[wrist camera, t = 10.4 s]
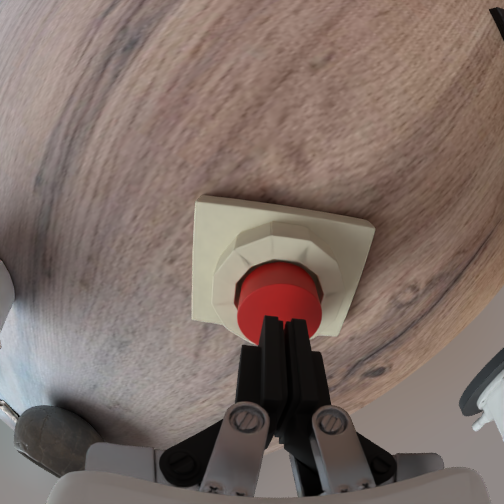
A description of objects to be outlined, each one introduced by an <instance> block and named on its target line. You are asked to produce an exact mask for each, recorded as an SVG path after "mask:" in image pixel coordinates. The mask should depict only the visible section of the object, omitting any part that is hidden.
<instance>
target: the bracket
mask: <svg viewBox="0 0 504 504" xmlns="http://www.w3.org/2000/svg"><path fill="white" fill-rule="evenodd" d="M489 11H490V13H491V15H492V16H493V18H494V20H495V23H496V25H497V27H498V29H499V31H500V33H501V36H502V38H503V40H504V9H501V8H498V7H496V8H492V9H489Z"/></svg>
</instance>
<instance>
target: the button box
mask: <svg viewBox="0 0 504 504" xmlns="http://www.w3.org/2000/svg"><path fill="white" fill-rule="evenodd" d="M374 233H375V227H374V226H373V225H372V224H371V223H370V222H369V221H368V220H365V219H360V218H354V217H349V216H344V215H338V214H332V213H327V212H321V211H315V210H309V209H303V208H296V207H290V206H283V205H277V204H270V203H263V202H256V201H248V200H240V199H233V198H224V197H216V196H207V195H201V196H200V197H199V198H198V199H197V200H196V202H195V214H194V233H193V259H192V320H196V321H202V322H209V323H215V324H222V325H224V326H225V328H226V329H227V330H229V331H231V332H232V333H234V334H236V335H237V336H239V337H241V338H243V339H244V340H246V341H248V342H250V343H251V344H254V343H253V342H251V341H250V340H248V339H247V338H246V337H245V336H244V335H243V333H242V332H241V330H240V328H239V326H238V323H237V311H238V305H239V298H240V292H241V287H242V284H243V282H244V280H245V279H246V277H247V276H248V275H249V274H250V273H251V272H252V271H254V270H255V269H256V268H258V267H260V266H262V265H265V264H268V263H274V262H286V263H291V264H294V265H296V266H299V267H301V268H302V269H304V270H305V271H306V272H307V273H308V274H309V275H310V276H311V277H312V279H313V281H314V283H315V286H316V290H317V294H318V297H319V301H320V305H321V309H322V320H321V324H320V326H319V328H318V330H317V331H316V333H315V334H314V335H313V336H312V337H311V338H310V339H309V340H311V339H313V338H315V337H316V336H317V335H322V336H338V335H339V333H340V330H341V328H342V325H343V323H344V320H345V318H346V315H347V313H348V310H349V308H350V305H351V302H352V300H353V297H354V294H355V291H356V289H357V286H358V283H359V280H360V277H361V274H362V271H363V268H364V265H365V262H366V259H367V256H368V253H369V250H370V247H371V243H372V240H373V237H374Z"/></svg>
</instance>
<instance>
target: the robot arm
mask: <svg viewBox="0 0 504 504" xmlns="http://www.w3.org/2000/svg"><path fill="white" fill-rule="evenodd" d="M477 406H478V408H479V409H480V410H484V412H483V413H482V416H481V417H480V418H479V419H478V420H477V421H475V422H474V424H473V425H472V428H473V429H474V431H478V430H479V429H480V428H481V427H482V426H483V425H484V424H485V423H486V422H487V423H488V422H490V421H492V420H494V421H495V423H496V425H497V427H498V430H499V432H500V434H501V436H502V439H503V441H504V369H503V370H502V371H501V372H500V373H499V374H498V375H497V376H496V377H495V378H494V379H493V380H492V381H491V383H490V384H489V385H488V386H487V387H486V388H485V390H484V391H483V392H482V394H481V395H480V397H479V399H478V401H477ZM273 436H275V437H279V444H284V449H285V450H287V451H288V452H289V457H290V462H291V467H292V471H293V476H294V480H295V485H296V490H297V495H298V497H294V498H259V497H254V494H255V489H256V485H257V481H258V477H259V472H260V468H261V463H262V458H263V454H264V450H265V449H267V448H268V446H269V444H270V442H271V440H272V438H273ZM46 504H491V500H490V496H489V493H488V490H487V487H486V484H485V482H484V480H483V478H482V476H481V475H480V474H479V473H478V472H477V471H476V470H474V469H470V468H466V467H451V468H445V469H444V463H443V459H442V458H441V456H439V455H438V454H436V453H406V454H405V453H397V454H396V455H391V454H390V453H389V452H387V451H385V450H384V449H382V448H380V447H379V446H378V445H376V444H374V443H373V442H371V441H370V440H368V439H367V438H365V437H364V436H362V435H361V434H359V433H358V432H356V430H355V428H354V425H353V423H352V420H351V418H350V416H349V414H348V413H347V412H346V411H345V410H344V409H342V408H340V407H338V406H334V405H331V401H330V395H329V390H328V384H327V379H326V374H325V369H324V364H323V359H322V355H321V353H320V352H317V351H311V345H310V340H309V334H308V328H307V323H306V320H305V319H296V318H292V319H291V321H286V324H285V327H284V326H283V321H281V320H279V319H278V317H277V316H268V315H264V319H263V324H262V329H261V334H260V339H259V344H258V347H257V346H249V345H242V348H241V355H240V362H239V370H238V379H237V389H236V398H235V404H233V405H232V406H231V407H229V408H228V409H227V411H226V413H225V416H224V419H222V420H220V421H219V422H217V423H215V424H214V425H212V426H210V427H208V428H207V429H205V430H203V431H201V432H199V433H197V434H196V435H194V436H192V437H190V438H188V439H186V440H184V441H182V442H180V443H179V444H177V445H175V446H173V447H171V448H169V449H167V450H159V449H154V448H153V447H139V446H128V445H120V444H112V443H105V442H97V443H95V444H92V445H91V446H90V447H89V448H88V450H87V453H86V462H85V471H74V472H70V473H67V474H65V475H64V476H62V477H61V478H60V479H59V480H58V481H57V482H56V484H55V486H54V487H53V489H52V491H51V493H50V495H49V497H48V499H47V502H46Z"/></svg>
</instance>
